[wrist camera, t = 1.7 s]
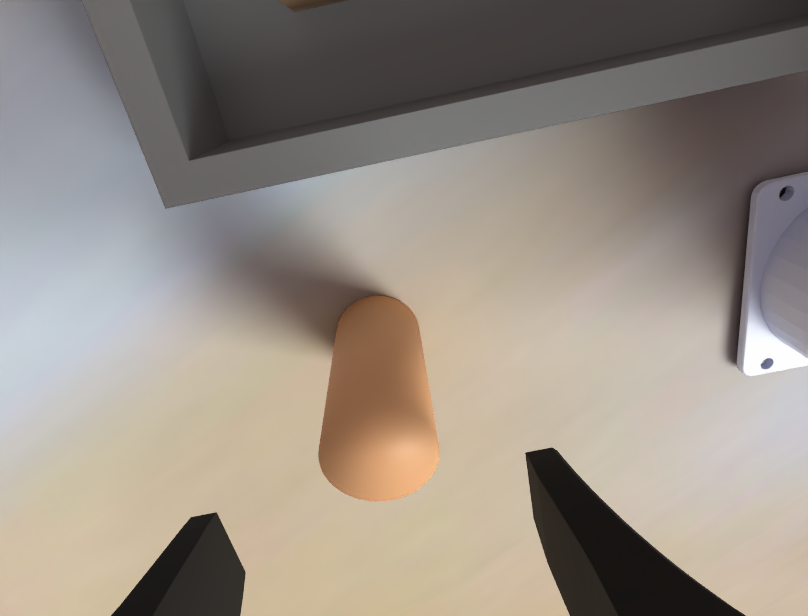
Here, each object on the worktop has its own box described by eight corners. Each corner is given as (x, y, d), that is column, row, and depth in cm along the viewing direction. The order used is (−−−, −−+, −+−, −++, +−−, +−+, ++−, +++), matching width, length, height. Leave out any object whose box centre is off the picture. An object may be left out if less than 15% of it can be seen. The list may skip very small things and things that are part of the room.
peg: (410, 287, 19) (427, 395, 13) (426, 360, 21) (448, 489, 14) (327, 305, 19) (304, 419, 13) (347, 375, 21) (335, 510, 14)
